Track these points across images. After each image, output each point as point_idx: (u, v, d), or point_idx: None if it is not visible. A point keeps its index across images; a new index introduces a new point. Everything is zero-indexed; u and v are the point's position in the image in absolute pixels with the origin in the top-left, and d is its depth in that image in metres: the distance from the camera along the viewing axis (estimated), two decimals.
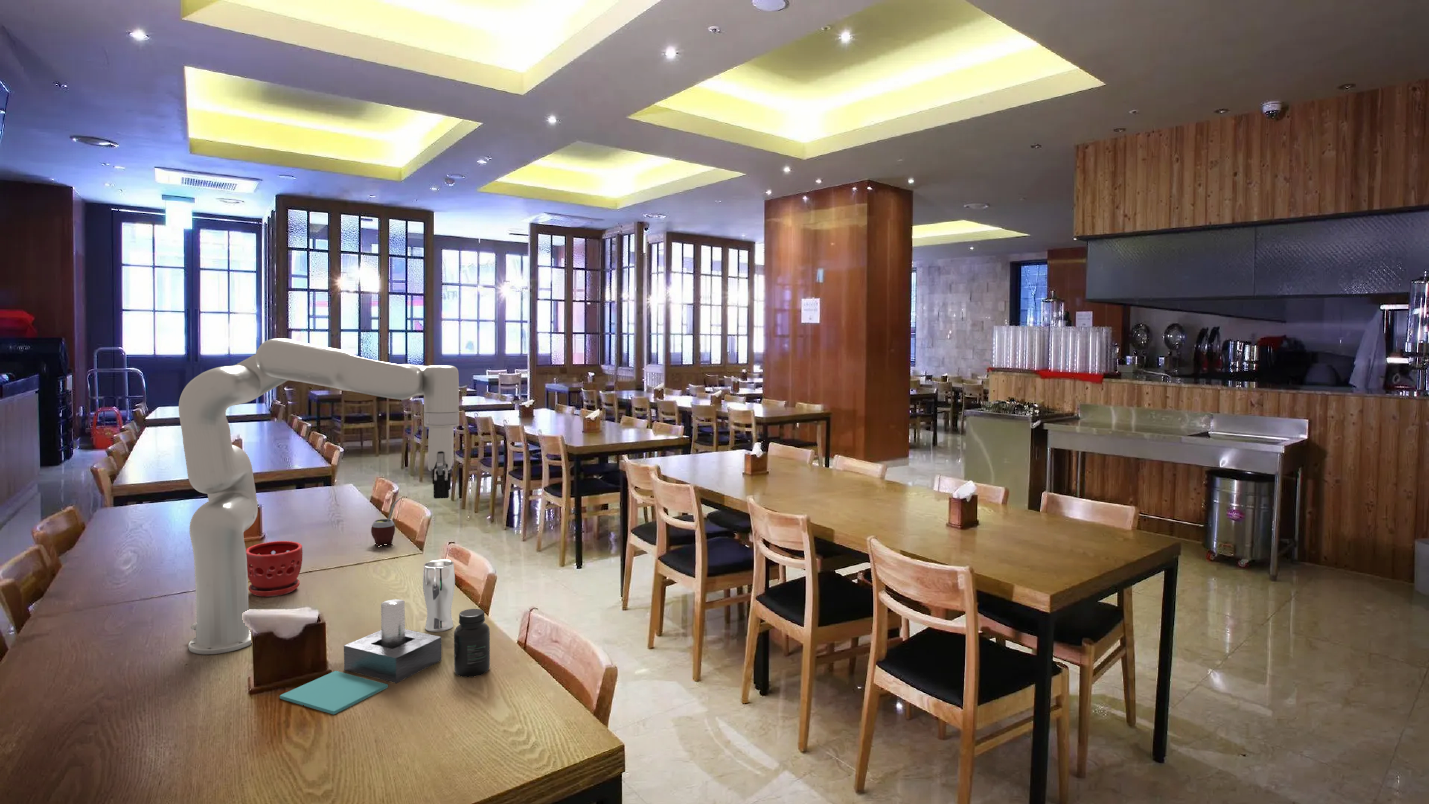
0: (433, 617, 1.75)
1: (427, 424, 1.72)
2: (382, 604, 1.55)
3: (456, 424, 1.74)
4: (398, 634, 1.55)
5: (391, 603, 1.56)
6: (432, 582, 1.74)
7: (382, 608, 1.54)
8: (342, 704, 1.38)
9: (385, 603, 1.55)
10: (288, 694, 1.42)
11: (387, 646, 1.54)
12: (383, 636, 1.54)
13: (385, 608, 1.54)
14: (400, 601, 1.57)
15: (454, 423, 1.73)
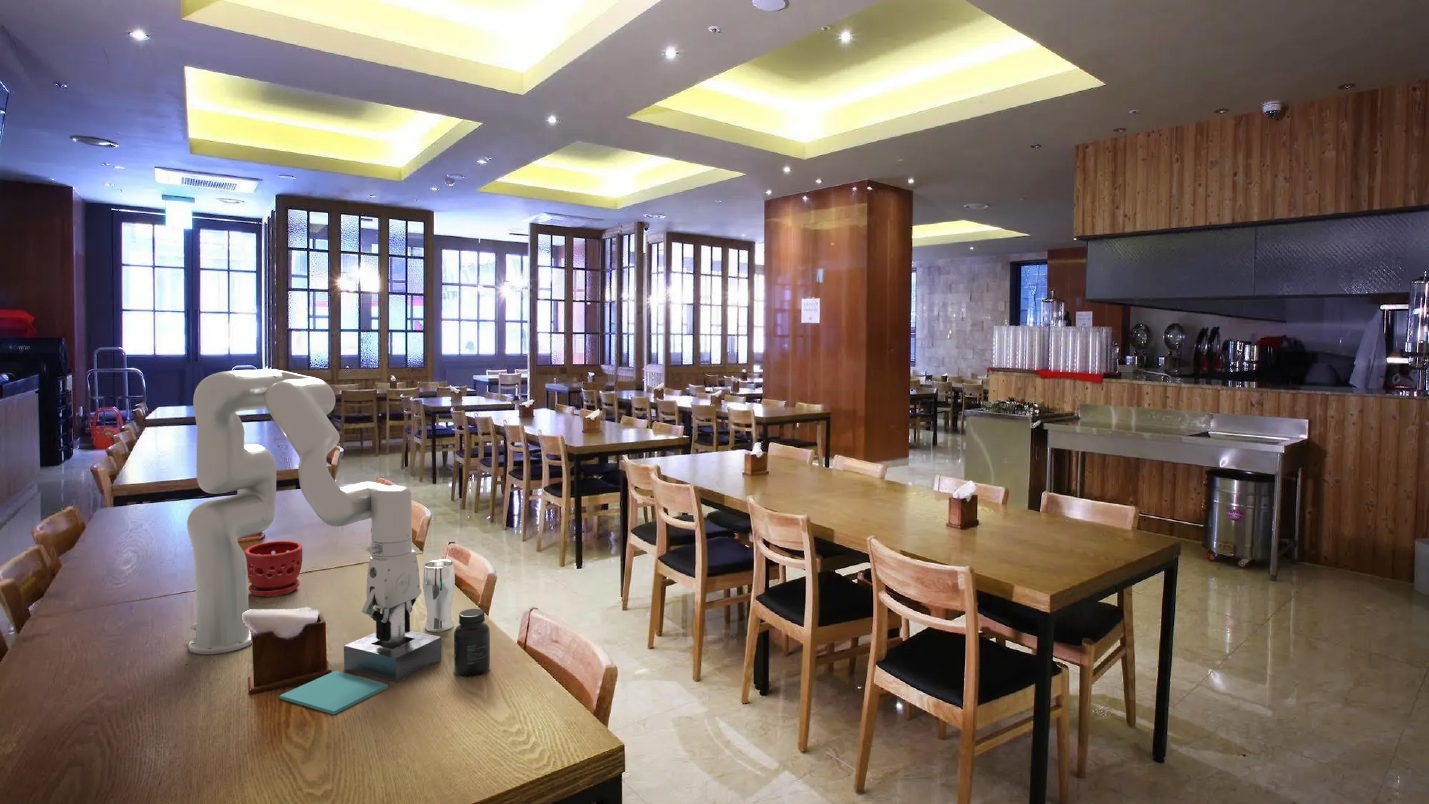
0: (433, 617, 1.75)
1: (411, 550, 1.56)
2: None
3: None
4: (398, 634, 1.55)
5: None
6: (432, 582, 1.74)
7: None
8: (342, 704, 1.38)
9: None
10: (288, 694, 1.42)
11: (387, 646, 1.54)
12: None
13: None
14: None
15: None
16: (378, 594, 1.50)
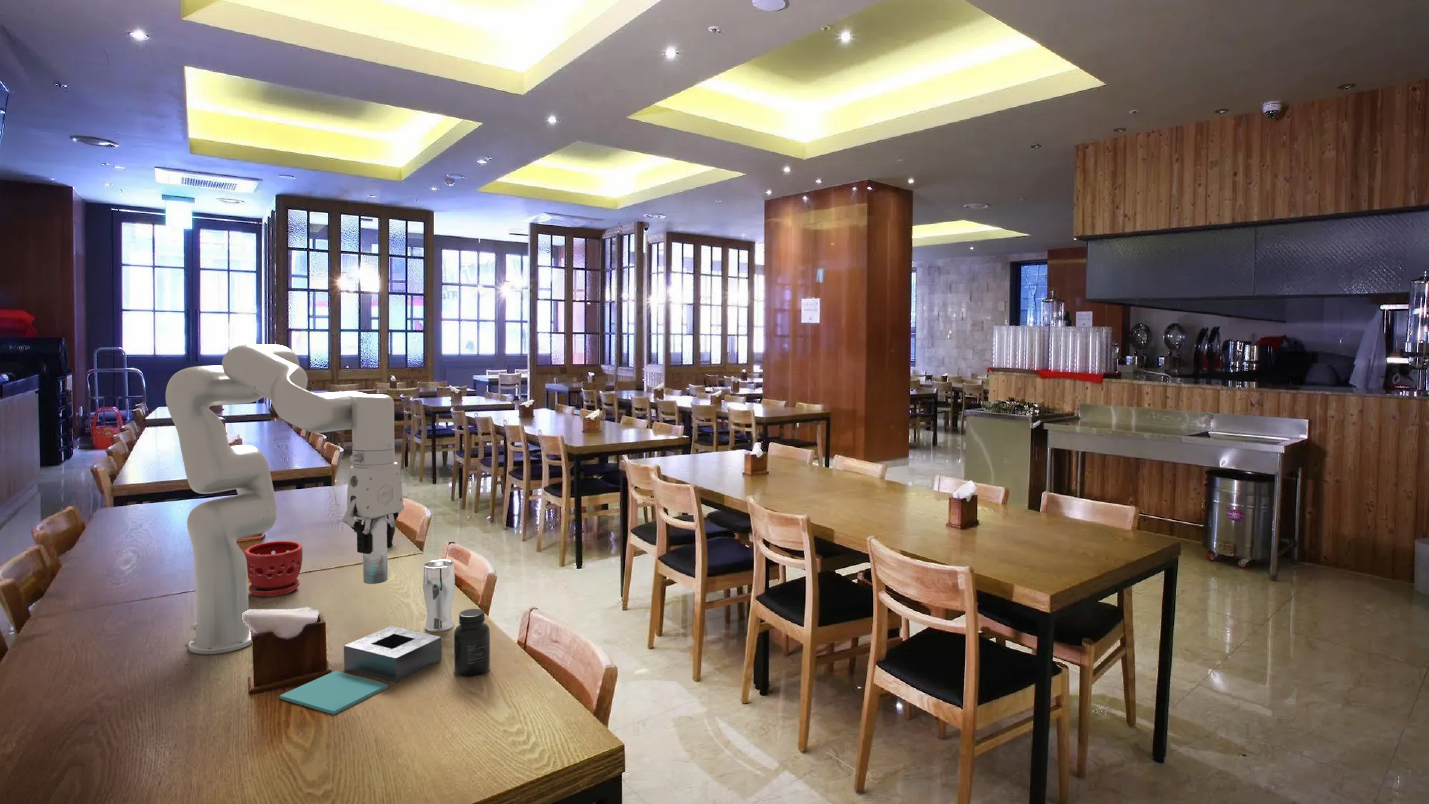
0: (433, 617, 1.75)
1: (393, 462, 1.51)
2: None
3: None
4: (380, 547, 1.50)
5: None
6: (432, 582, 1.74)
7: None
8: (342, 704, 1.38)
9: None
10: (288, 694, 1.42)
11: (369, 559, 1.49)
12: None
13: None
14: None
15: None
16: (359, 503, 1.45)
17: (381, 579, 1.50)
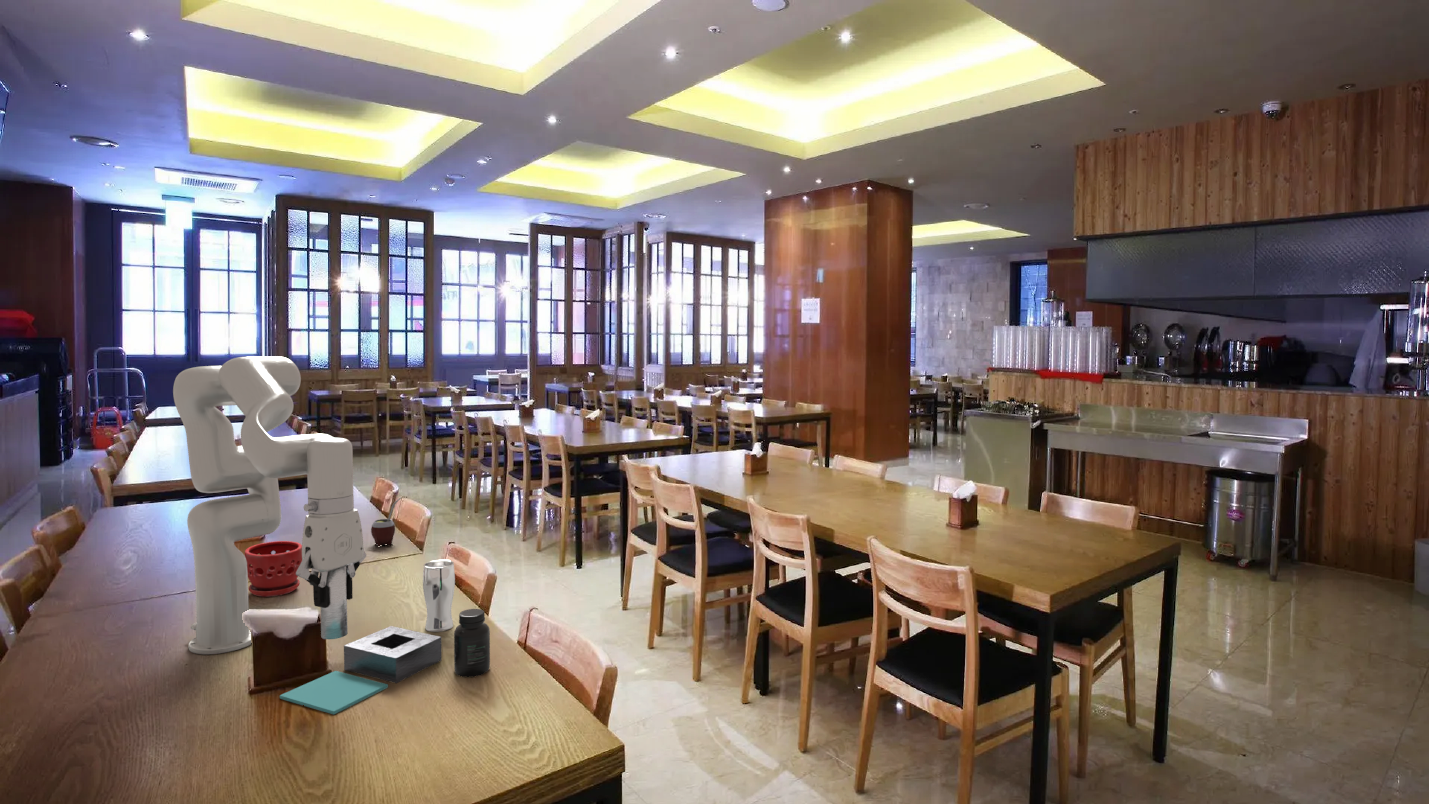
0: (433, 617, 1.75)
1: (352, 509, 1.42)
2: None
3: None
4: (338, 600, 1.41)
5: None
6: (432, 582, 1.74)
7: None
8: (342, 704, 1.38)
9: None
10: (288, 694, 1.42)
11: (326, 613, 1.41)
12: None
13: None
14: None
15: None
16: (314, 555, 1.37)
17: (340, 634, 1.42)
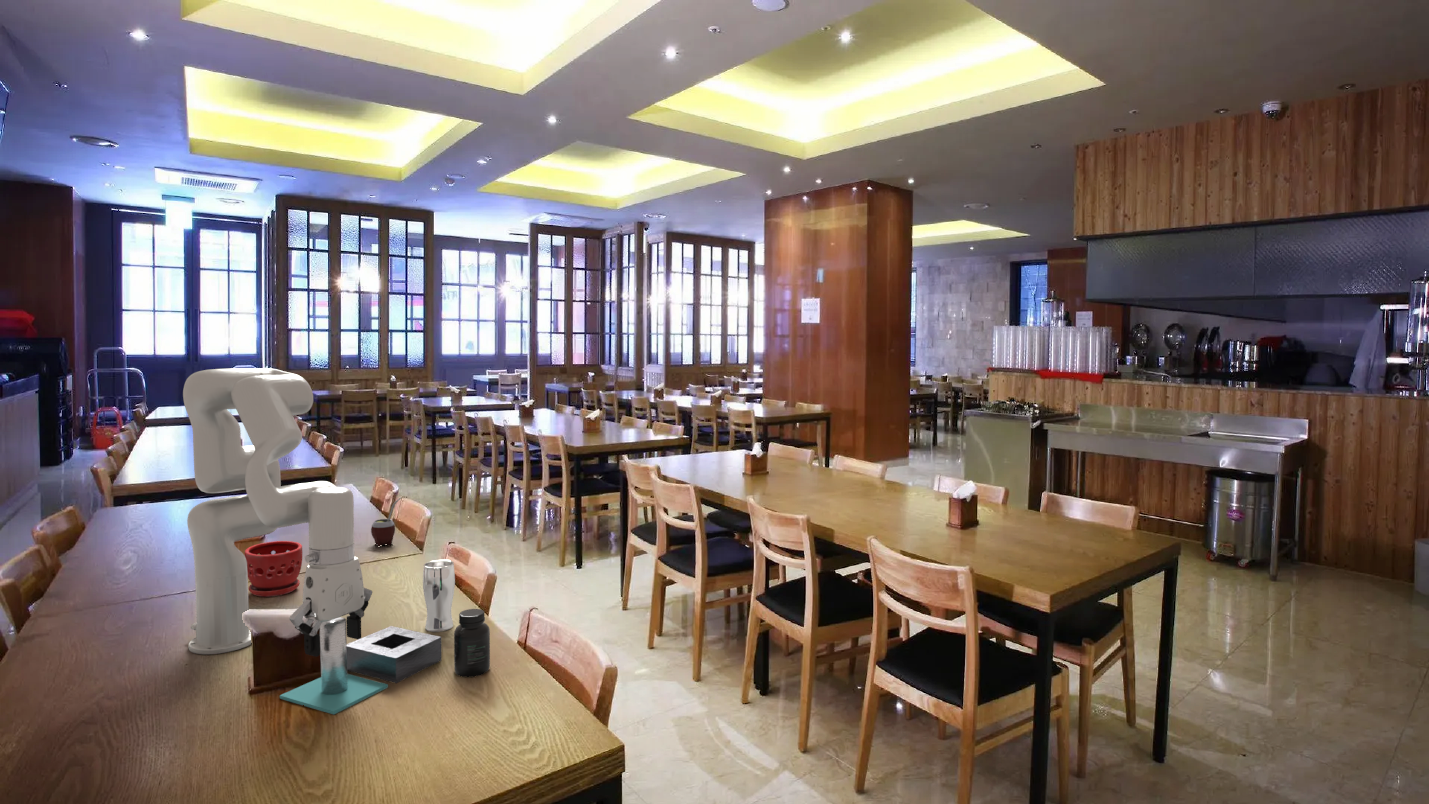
0: (433, 617, 1.75)
1: (353, 558, 1.43)
2: (321, 623, 1.42)
3: None
4: (338, 655, 1.42)
5: (331, 621, 1.43)
6: (432, 582, 1.74)
7: (320, 627, 1.42)
8: (342, 704, 1.38)
9: (324, 622, 1.43)
10: (288, 694, 1.42)
11: (326, 669, 1.42)
12: (322, 658, 1.42)
13: (323, 627, 1.41)
14: (341, 619, 1.44)
15: None
16: (315, 606, 1.37)
17: (340, 689, 1.43)
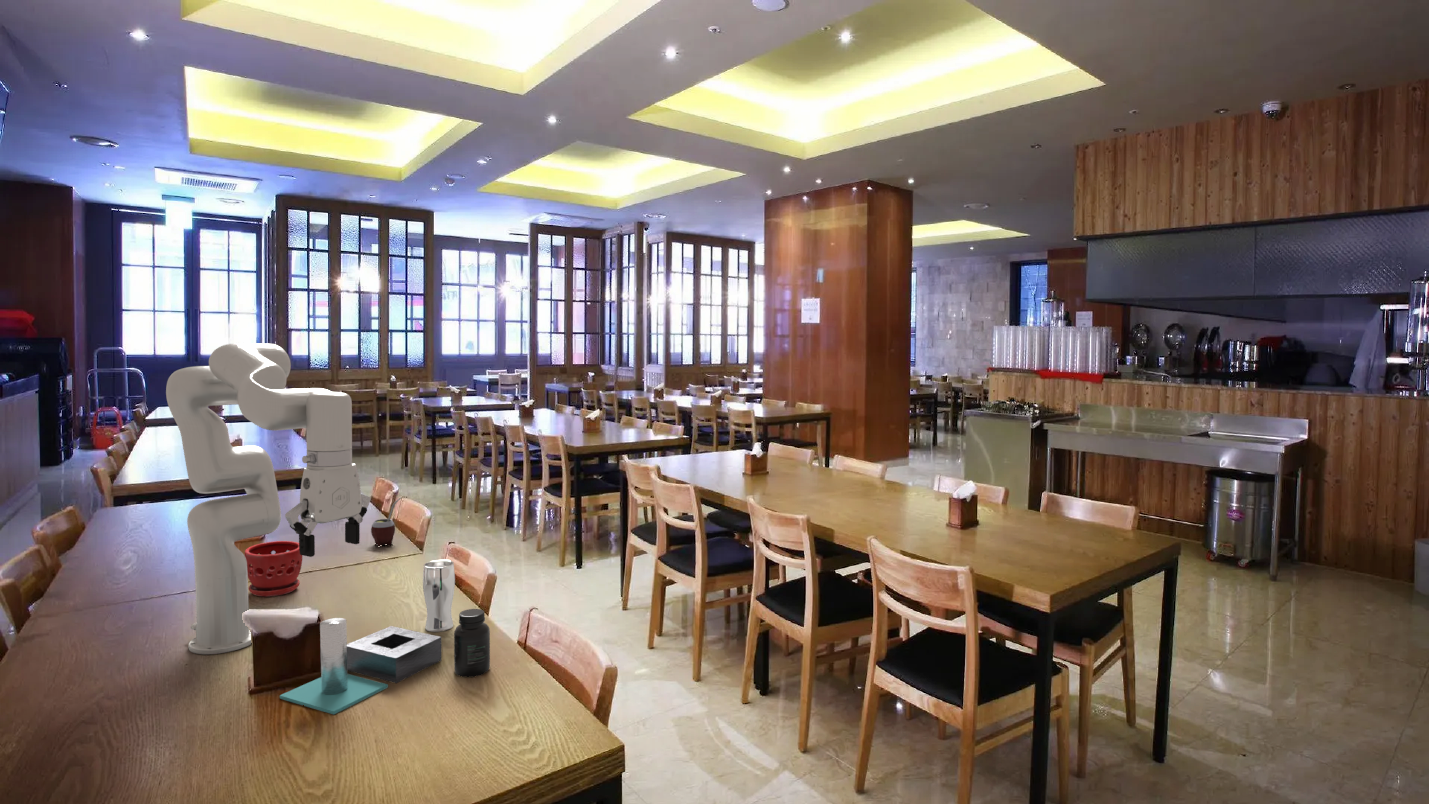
0: (433, 617, 1.75)
1: (350, 463, 1.43)
2: (321, 624, 1.42)
3: None
4: (338, 656, 1.42)
5: (331, 622, 1.43)
6: (432, 582, 1.74)
7: (321, 628, 1.41)
8: (342, 704, 1.38)
9: (324, 623, 1.42)
10: (288, 694, 1.42)
11: (326, 669, 1.41)
12: (322, 658, 1.42)
13: (324, 628, 1.41)
14: (342, 620, 1.44)
15: None
16: (311, 507, 1.38)
17: (340, 689, 1.43)
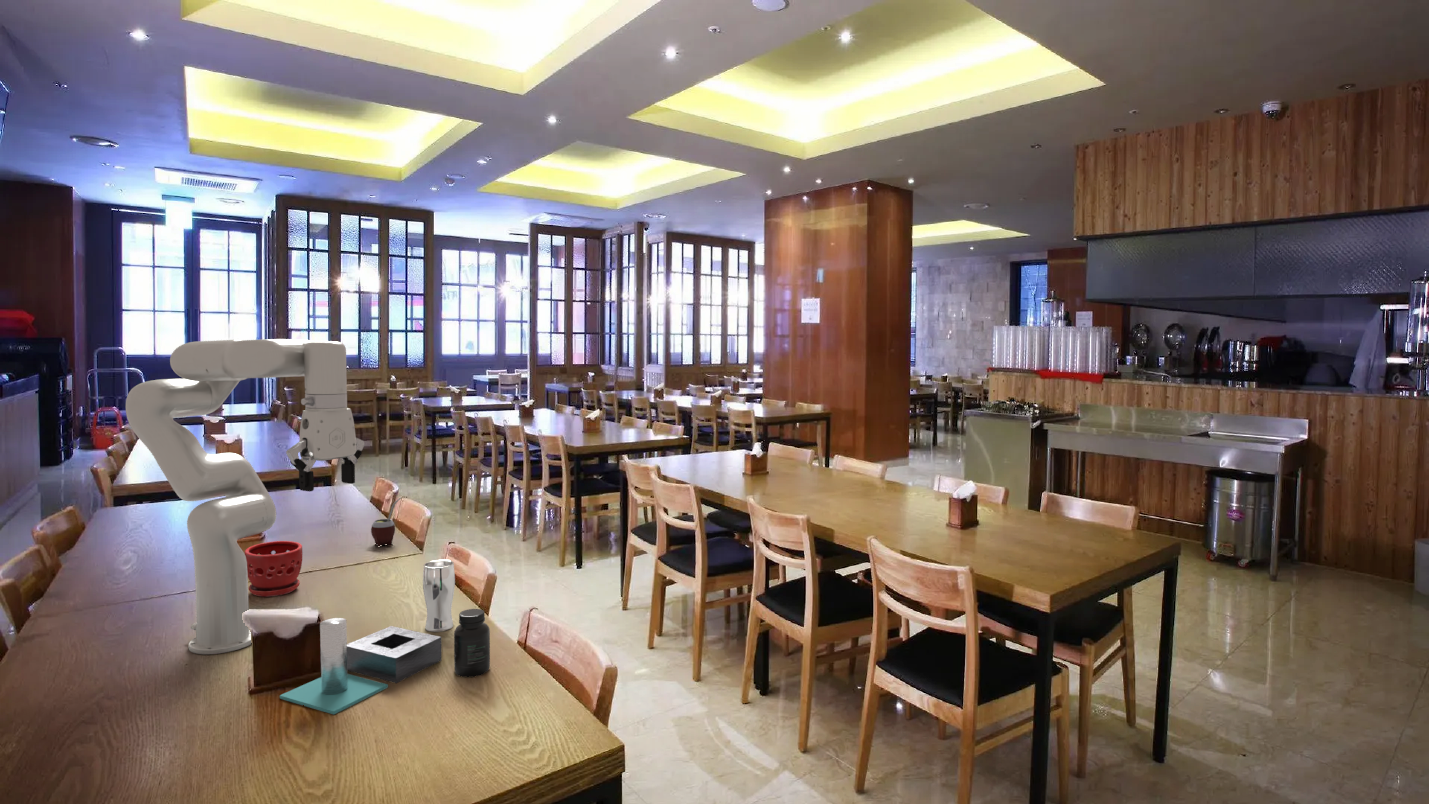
0: (433, 617, 1.75)
1: (346, 407, 1.55)
2: (321, 624, 1.42)
3: None
4: (338, 656, 1.42)
5: (331, 622, 1.43)
6: (432, 582, 1.74)
7: (321, 628, 1.41)
8: (342, 704, 1.38)
9: (324, 623, 1.42)
10: (288, 694, 1.42)
11: (326, 669, 1.41)
12: (322, 658, 1.42)
13: (324, 628, 1.41)
14: (342, 620, 1.44)
15: None
16: (310, 445, 1.50)
17: (340, 689, 1.43)
